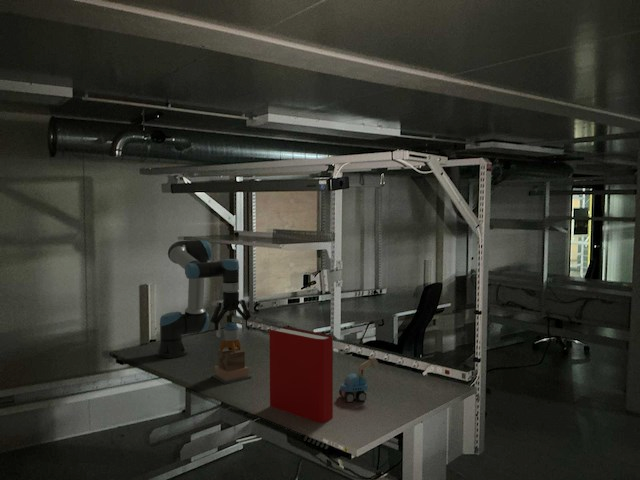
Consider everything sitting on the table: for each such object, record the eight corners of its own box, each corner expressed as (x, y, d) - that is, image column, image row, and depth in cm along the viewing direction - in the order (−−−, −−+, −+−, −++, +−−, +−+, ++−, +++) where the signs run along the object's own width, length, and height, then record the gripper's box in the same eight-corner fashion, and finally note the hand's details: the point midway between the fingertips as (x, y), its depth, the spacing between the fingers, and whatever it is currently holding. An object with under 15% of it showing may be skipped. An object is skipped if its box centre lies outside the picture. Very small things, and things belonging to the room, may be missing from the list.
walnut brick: (218, 366, 246) (218, 349, 245) (235, 362, 251) (234, 347, 251) (227, 371, 238) (227, 354, 237) (244, 367, 243) (244, 351, 243)
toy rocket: (238, 356, 238) (231, 326, 235) (217, 359, 240) (210, 329, 237) (245, 347, 247) (238, 318, 245) (225, 350, 250) (218, 321, 247)
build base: (212, 376, 246) (211, 366, 246) (237, 370, 255) (237, 361, 254) (225, 384, 235) (224, 373, 235) (251, 378, 243) (251, 367, 243)
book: (269, 406, 208) (269, 329, 206) (283, 400, 214) (282, 326, 212) (321, 423, 190) (321, 339, 189) (334, 417, 197) (334, 335, 195)
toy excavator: (381, 399, 215) (381, 359, 214) (344, 403, 210) (344, 363, 210) (373, 392, 223) (373, 354, 223) (337, 396, 219) (337, 357, 218)
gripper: (210, 294, 233) (210, 340, 234) (257, 289, 248) (257, 332, 249) (203, 292, 239) (203, 336, 240) (250, 287, 254) (250, 329, 255)
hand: (231, 334), depth 244 cm, fingers open, 13 cm apart
